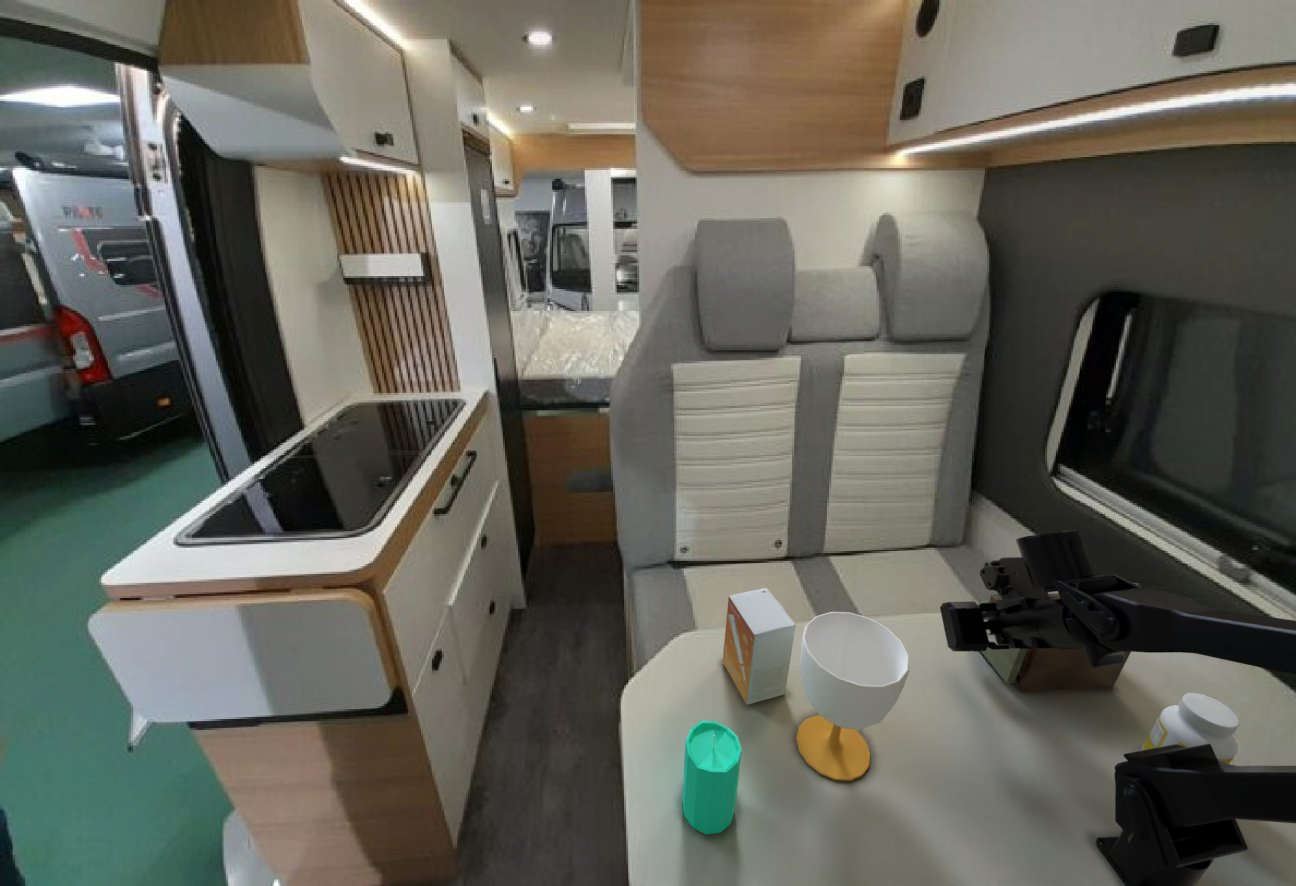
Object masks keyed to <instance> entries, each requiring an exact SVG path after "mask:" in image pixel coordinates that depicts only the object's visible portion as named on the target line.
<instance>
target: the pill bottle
mask: <svg viewBox="0 0 1296 886" xmlns="http://www.w3.org/2000/svg"><path fill="white" fill-rule="evenodd" d="M1239 726H1240V719H1239V717H1238V715H1237V714H1236V713H1235V712H1234V711H1233V710H1232V709H1230V707H1228V706H1227V705H1226V704H1223V703H1222V702H1220V701H1219V700H1217V699H1215V698H1213V697H1211V696H1207V695H1205V694H1202V693H1198V692H1187V693H1185V694H1184V695H1182V697H1181V699H1180V700H1179V702H1178V705H1175V704H1174V705H1170V706H1167V707H1165V708H1164V709H1163V710H1162V711H1161V713H1160V714H1159V715H1158V717H1157V719H1156V721H1155V723H1154V724H1153V727H1152V728H1151V730H1150V732H1149V734H1148V735H1147V738H1146V740H1145V742H1144V743H1143V744H1142V747H1141V748H1140V751H1143V750H1148V749H1153V748H1158V747H1163V746H1169V745H1174V744H1178V745H1181V746H1183V747H1194V746H1200V745H1205V744H1211V746H1212V748H1213V751H1214V753H1215V755H1216V757H1217V759H1218V760H1220V761H1223V762H1225V763H1228V764H1231V762H1232V761H1233V759H1234V758H1235V756H1236V754H1237V752H1238V743H1237V740H1236V737H1234V734H1235V733H1236V731H1237V729H1238V728H1239Z"/></svg>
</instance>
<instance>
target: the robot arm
mask: <svg viewBox="0 0 1296 886" xmlns="http://www.w3.org/2000/svg"><path fill="white" fill-rule="evenodd" d="M1015 542H1016V545H1017V547H1018V551H1019V553H1020V556H1016V557H1015V556H1013V557H1010V556H1009V557H1008V556H1007V557H1000V558H999V559H998V560H995V559H994V560H992V561H990V562H989V561H987V562H984V564H983V565H984V566H982V568H981V569H980V570H979V577H980V578H981V581H982V583H983V585H984V587H985V588H986V590H988V591H995V592H996V594H999V595H1000V597H1001V598H1002V599H1001V600H995V603H989V602H988V603H981V604H980V605H979V604H978V603H977V602H976V600H975V601H948V602H947V601H946V602H942V604H941V605H940V607H939V610H940V613H941V614H940V615H941V619H942V624H943V629H944V634H945V638H946V644H947V647H948V649H950V650H951V651H952V652H981V651H986V650H987V647H988V648H989V649H992V650H998V649H1010V648H1019V649H1039V648H1061V649H1079V648H1084V650H1085V653H1086V656H1087V658H1088V661H1089V663H1090V665H1091V666H1092V667H1094V668H1095V667H1102V666H1109V665H1117V664H1122V663H1123V662H1124V658H1125V655H1124V652H1125V651H1130V652H1131V653H1145V654H1146V653H1147V654H1149V653H1150V654H1151V653H1152V654H1153V653H1158V654H1160V653H1161V654H1163V653H1167V654H1168V653H1170V654H1171V653H1179V654H1180V653H1182V654H1183V653H1184V654H1195V655H1196V654H1197V655H1201V656H1206V657H1209V658H1215V659H1219V660H1224V661H1227V662H1234V663H1238V664H1241V665H1242V664H1243V665H1246V666H1251V667H1257V668H1260V669H1266V670H1270V671H1274V672H1280V673H1285V674H1288V675H1294V676H1296V620H1294V619H1286V618H1279V617H1273V616H1272V617H1271V616H1265V615H1264V616H1263V615H1259V614H1250V613H1243V612H1238V611H1230V610H1222V609H1218V608H1217V609H1216V608H1213V607H1209V606H1207V605H1202V604H1200V603H1198V602H1196V601H1195V600H1193V599H1191V598H1189V597H1187V596H1185V595H1181V594H1177V593H1174V592H1170V591H1167V590H1163V589H1159V588H1155V587H1151V586H1146V587H1143V586H1141V585H1139V584H1137V583H1134V582H1132V581H1131V580H1128V579H1127V578H1124V577H1123V576H1121V575H1118V574H1116V573H1109V574H1100V575H1095V573H1094V571H1093V568H1092V566H1091V563H1090V561H1089V558H1088V556H1087V553H1086V551H1085V549H1084V545H1083V540H1082V537H1081V535H1080V532H1079V530H1077V529H1071V530H1070V529H1069V530H1062V531H1056V532H1052V533H1043V534H1034V535H1026V536H1022V537H1019V538H1016V539H1015ZM1056 592H1057V593H1059V596H1060V597H1059V596H1055V597H1049V594H1050V593H1056ZM1000 610H1001V611H1000ZM1009 646H1010V648H1009ZM1123 757H1124V759H1125V761H1121V762H1118V763H1116V764H1115V765H1114V777H1113V778H1114V784H1115V786H1114V787H1115V792H1114V793H1115V794H1114V795H1115V796H1114V797H1115V798H1114V803H1115V804H1114V820H1115V823H1116V824H1117V825H1118V826H1119V828H1120V829H1122V831H1121V832H1120V834H1119V836H1105V837H1102V836H1101V837H1096V839H1095V841H1094V842H1095V844H1096V846H1097V847H1098V849H1099V851H1101V853H1102V855H1103V856H1104V857H1105V858H1106V860H1107V861H1108V862H1109V864H1110V865H1111V867H1112V868H1113V869H1114V871H1115V872H1116V873H1117V876H1119V878H1120V879H1121V880H1122V881H1123V883H1124V885H1125V886H1196V884H1197V883H1198V882H1199V881H1200V879H1201V878H1202V877H1203V876H1204V875H1205V873H1206V871H1207V870H1208V869H1209V867H1211V865H1212V864H1213V862H1214V860H1215V859H1219V858H1222V857H1226V856H1230V855H1231V856H1232V855H1235V854H1240V853H1244V852H1248V851H1249V847H1248V844H1247V842H1246V839H1245V837H1244V836H1243V832H1242V830H1241V828H1240V826H1239V823H1238V822H1237V820H1243V821H1257V822H1270V823H1272V822H1273V823H1283V824H1284V823H1285V824H1296V765H1235V764H1231V763H1229V764H1228V763H1225V762H1223V761H1220V760H1218V759H1217V757H1216V755H1215V753H1214V751H1213V748H1212V746H1211V744H1205V745H1200V746H1194V747H1183V746H1181V745H1178V744H1174V745H1169V746H1163V747H1158V748H1153V749H1148V750H1143V751H1141V750H1138V751H1132V752H1128V753H1123Z"/></svg>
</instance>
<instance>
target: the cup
mask: <svg viewBox="0 0 1296 886" xmlns="http://www.w3.org/2000/svg"><path fill="white" fill-rule="evenodd" d="M799 659H800V660H799V661H800V662H799V665H800V666H799V669H800V678H801V682H802V686H803V690H804V694H805V697H806V699H807V700H808V701H809V703H810V704H811V705H812V707H813V708H814V709H815V711H816V712H817V714H818V715H814V716H811V717H809V718H806V719H804V721H803V722H802V723H801V724H800V725H799V726H798V729H797V732H796V733H797V734H796V739H795V740H796V743H797V746H798V752H799V753H800V755H801V756H802V758H803V760H804V761H805V763H806V764H807V765H808V766H809V767H811V768H812V769H813V770H814V771H815V772H817V773H818V774H819V775H821V776H824V777H826V778H828V779H831V780H834V781H842V782H852V781H855V780H856V779H858V778H861V777H863V776H864V774H865V773H866V771H867V770H868V769H869V768H870V762H871V752H870V749H869V746H868V743H867V741H866V739H865V738H864V737H863V736H862V734H861V733H860V732H859V731H861V730H863V729H866V728H869V727H872V726H874V725H877V724H880V723H881V722H882V721H883V720H884V719H885V718H886V716H887V715H888V714H889V713H890V711H891V710H892V709H893V708H894V707H895V705H896V703H897V702H898V699H899V697H900V695H901V693H902V691H903V690H904V687H905V685H906V681H907V678H908V675H909V672H910V655H909V653H908V652H907V649H906V648H905V646H904V643H903V641H901V639H900V638H898V636H897V635H895V634H894V633H893V632H892V631H891V630H890V629H889V628H888V627H887V626H885V625H882V624H881V623H879V622H877V621H876V620H874V619H872V618H870V617H868V616H864V615H861V614H857V613H853V612H848V611H830V612H826V613H823V614H819V615H816V616H815V617H813V618H812V619H811V620H810V621H809V622H808V623H806V624H805V626H804V630H803V634H802V637H801V646H800V657H799ZM858 730H859V731H858Z"/></svg>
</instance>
